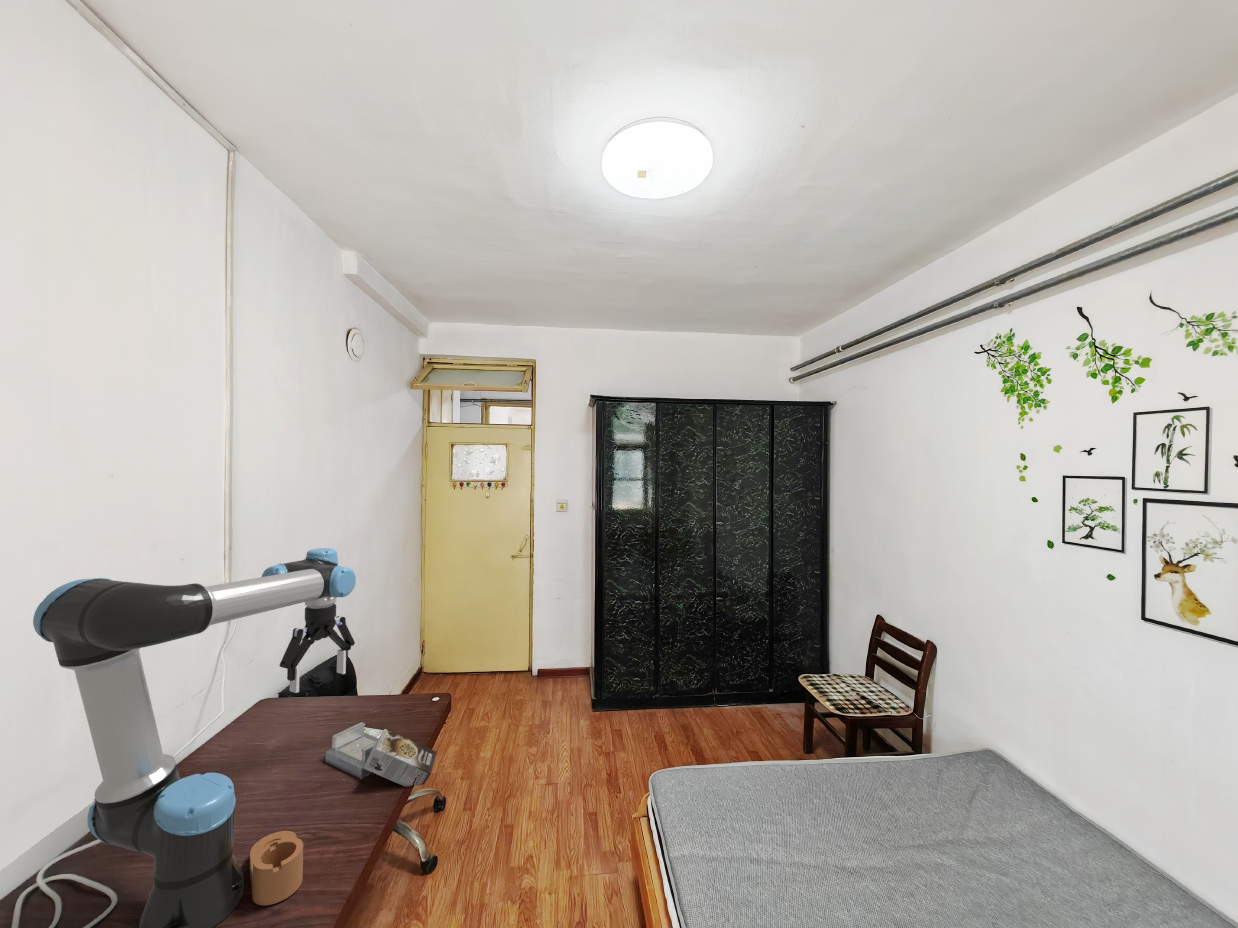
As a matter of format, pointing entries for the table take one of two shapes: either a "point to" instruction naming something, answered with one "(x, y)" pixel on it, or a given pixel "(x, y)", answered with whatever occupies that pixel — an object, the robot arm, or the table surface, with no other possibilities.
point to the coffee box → (400, 760)
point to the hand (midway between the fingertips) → (318, 681)
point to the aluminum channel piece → (351, 750)
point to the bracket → (276, 867)
